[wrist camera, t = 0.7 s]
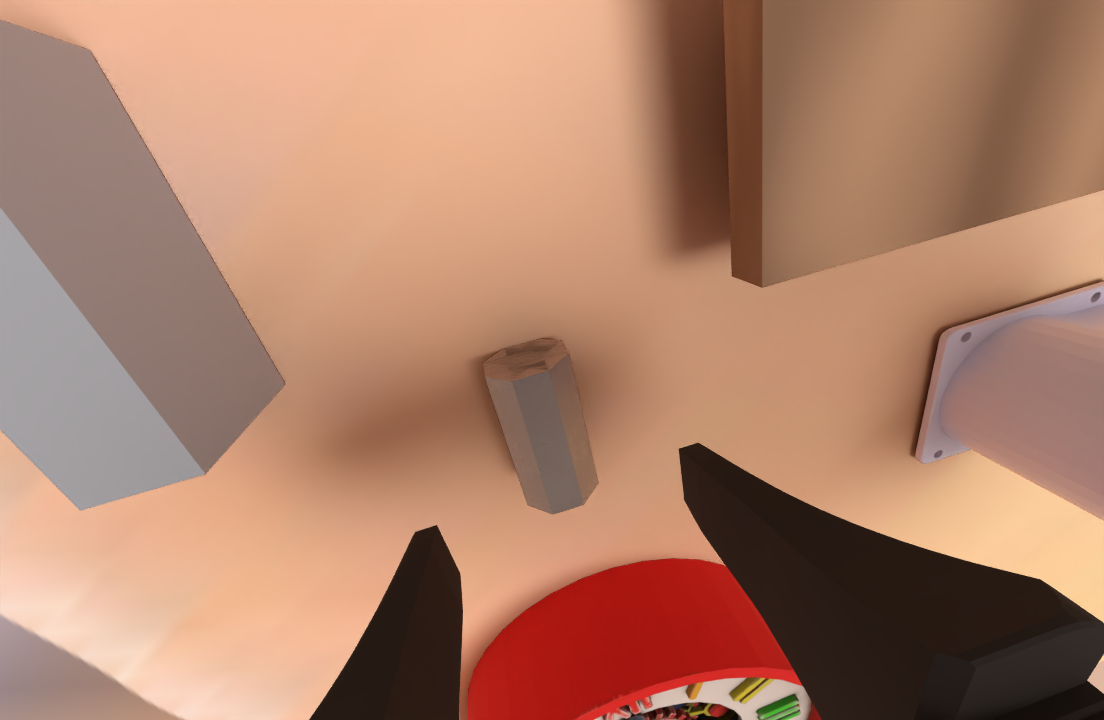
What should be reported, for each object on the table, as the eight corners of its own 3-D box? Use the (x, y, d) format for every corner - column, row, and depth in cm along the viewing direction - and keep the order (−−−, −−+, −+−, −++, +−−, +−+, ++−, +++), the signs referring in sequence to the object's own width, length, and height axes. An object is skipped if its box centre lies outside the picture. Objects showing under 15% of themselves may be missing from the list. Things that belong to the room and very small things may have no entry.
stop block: (90, 50, 10) (-195, -47, 6) (285, 384, 15) (205, 474, 10) (-36, 76, 10) (-432, -5, 6) (200, 408, 15) (80, 510, 10)
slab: (1307, -233, 10) (1433, -295, 9) (1159, 156, 14) (1231, 153, 13) (719, -112, 9) (762, -162, 8) (732, 276, 13) (762, 287, 12)
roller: (557, 332, 16) (574, 363, 13) (585, 451, 19) (605, 497, 16) (482, 353, 16) (485, 389, 13) (521, 471, 18) (530, 521, 16)
